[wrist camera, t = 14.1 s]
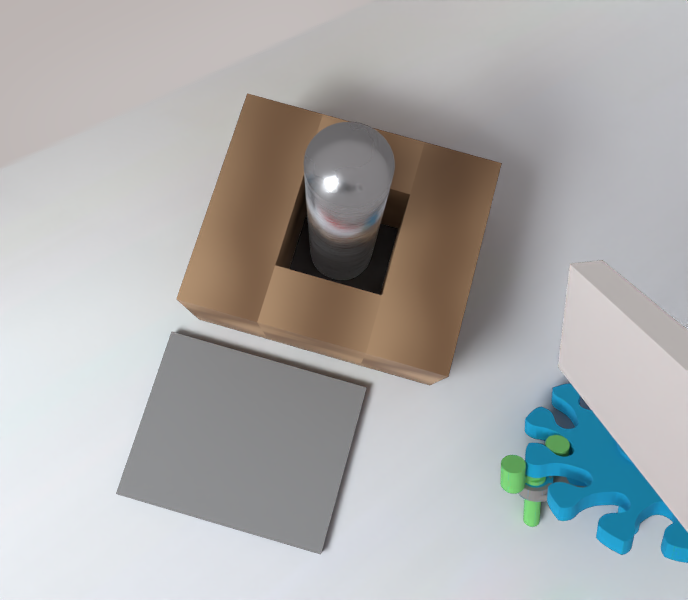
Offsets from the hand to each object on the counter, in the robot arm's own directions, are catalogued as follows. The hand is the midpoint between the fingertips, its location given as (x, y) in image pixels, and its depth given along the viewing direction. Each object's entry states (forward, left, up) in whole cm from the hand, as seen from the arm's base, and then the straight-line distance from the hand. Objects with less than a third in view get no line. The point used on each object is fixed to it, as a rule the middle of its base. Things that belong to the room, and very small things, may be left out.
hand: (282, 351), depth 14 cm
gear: (+14, +1, -18) cm, 23 cm away
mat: (-2, -3, -18) cm, 19 cm away
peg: (0, +8, -18) cm, 20 cm away
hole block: (0, +7, -18) cm, 20 cm away
